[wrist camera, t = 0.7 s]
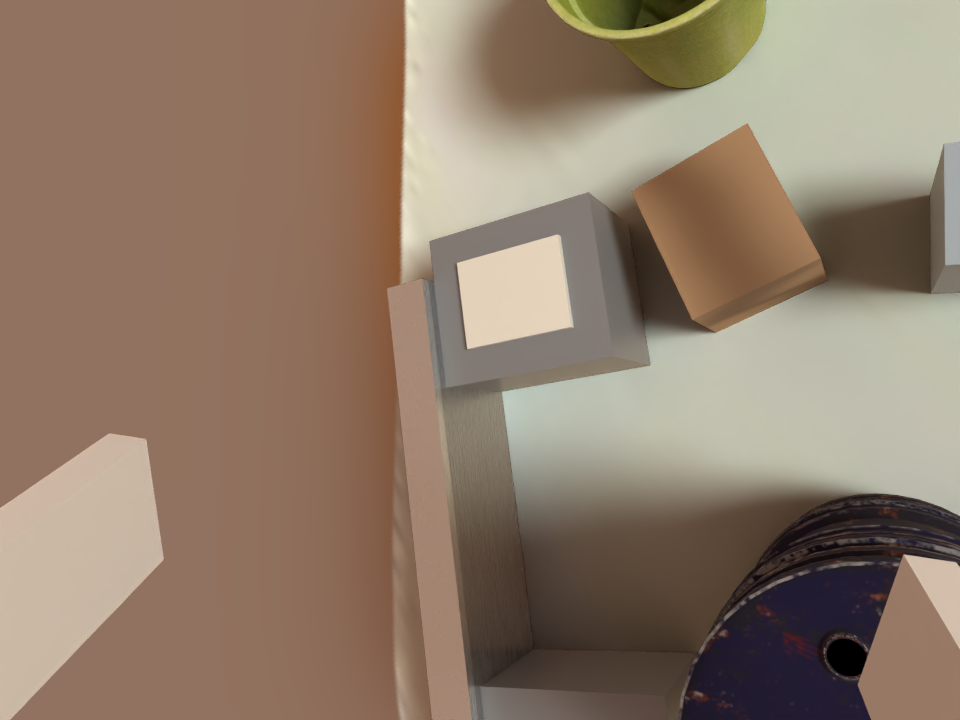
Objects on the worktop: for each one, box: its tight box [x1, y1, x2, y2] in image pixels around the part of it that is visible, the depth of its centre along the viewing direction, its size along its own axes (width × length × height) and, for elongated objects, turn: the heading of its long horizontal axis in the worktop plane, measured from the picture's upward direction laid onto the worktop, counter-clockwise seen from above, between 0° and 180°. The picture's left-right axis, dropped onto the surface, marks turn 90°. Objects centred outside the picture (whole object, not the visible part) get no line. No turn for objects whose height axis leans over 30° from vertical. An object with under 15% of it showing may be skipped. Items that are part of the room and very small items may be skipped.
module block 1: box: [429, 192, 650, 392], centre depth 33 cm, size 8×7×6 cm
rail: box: [387, 279, 534, 720], centre depth 33 cm, size 2×25×6 cm, turn 8°
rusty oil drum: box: [677, 494, 960, 720], centre depth 21 cm, size 10×10×15 cm
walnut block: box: [631, 123, 827, 332], centre depth 29 cm, size 5×6×5 cm
